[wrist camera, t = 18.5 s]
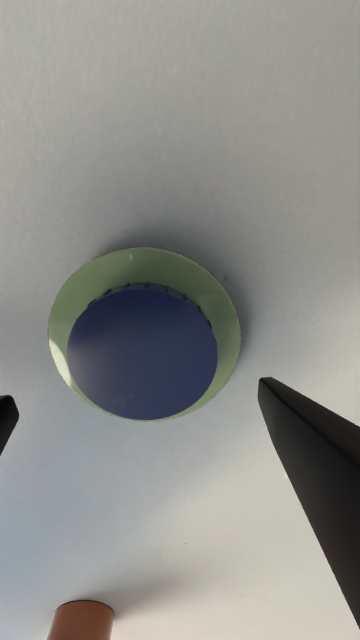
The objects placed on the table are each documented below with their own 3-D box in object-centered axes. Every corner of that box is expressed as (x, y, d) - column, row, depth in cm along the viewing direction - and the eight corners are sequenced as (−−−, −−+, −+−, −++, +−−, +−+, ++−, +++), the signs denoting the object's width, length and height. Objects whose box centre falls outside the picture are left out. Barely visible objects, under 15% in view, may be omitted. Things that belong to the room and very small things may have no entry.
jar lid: (214, 398, 13) (218, 416, 12) (92, 406, 13) (83, 426, 12) (213, 276, 11) (219, 281, 9) (62, 285, 10) (47, 293, 9)
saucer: (35, 375, 13) (25, 386, 12) (92, 207, 10) (84, 204, 9) (186, 429, 15) (186, 442, 14) (270, 300, 12) (279, 306, 11)
